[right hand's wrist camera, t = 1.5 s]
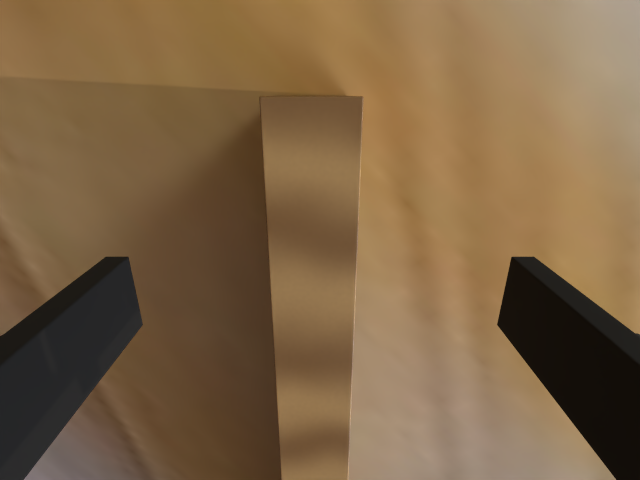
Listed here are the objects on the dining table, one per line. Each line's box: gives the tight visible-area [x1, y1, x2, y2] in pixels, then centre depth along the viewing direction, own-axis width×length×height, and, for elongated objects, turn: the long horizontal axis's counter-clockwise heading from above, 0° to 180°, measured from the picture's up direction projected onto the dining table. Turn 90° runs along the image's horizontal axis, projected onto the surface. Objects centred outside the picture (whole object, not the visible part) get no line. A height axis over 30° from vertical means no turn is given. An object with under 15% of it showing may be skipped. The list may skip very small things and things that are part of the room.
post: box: [260, 96, 363, 480], centre depth 31 cm, size 56×5×8 cm, turn 0°
